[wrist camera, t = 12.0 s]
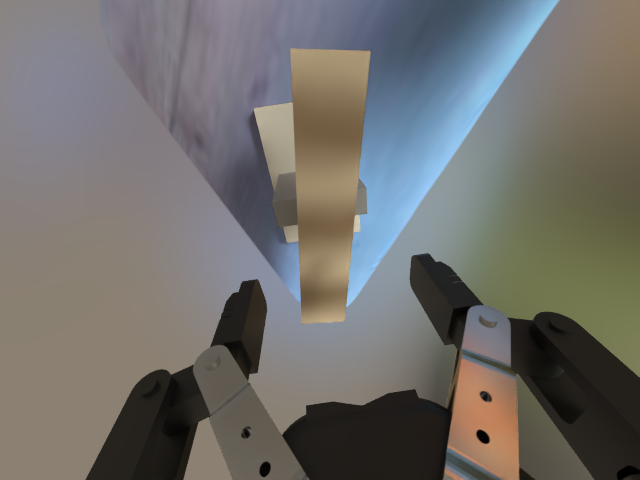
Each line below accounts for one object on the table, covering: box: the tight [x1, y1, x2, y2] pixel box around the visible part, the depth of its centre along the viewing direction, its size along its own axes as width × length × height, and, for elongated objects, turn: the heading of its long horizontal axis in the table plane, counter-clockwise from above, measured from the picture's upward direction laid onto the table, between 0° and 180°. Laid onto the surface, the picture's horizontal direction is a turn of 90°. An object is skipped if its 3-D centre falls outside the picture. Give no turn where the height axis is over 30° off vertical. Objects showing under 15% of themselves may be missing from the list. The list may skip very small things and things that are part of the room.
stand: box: [254, 102, 367, 243], centre depth 25 cm, size 16×10×10 cm, turn 8°
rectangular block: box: [290, 49, 371, 324], centre depth 19 cm, size 20×4×4 cm, turn 179°
